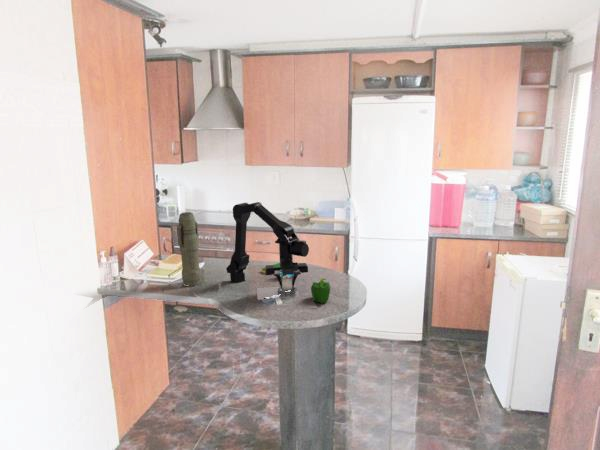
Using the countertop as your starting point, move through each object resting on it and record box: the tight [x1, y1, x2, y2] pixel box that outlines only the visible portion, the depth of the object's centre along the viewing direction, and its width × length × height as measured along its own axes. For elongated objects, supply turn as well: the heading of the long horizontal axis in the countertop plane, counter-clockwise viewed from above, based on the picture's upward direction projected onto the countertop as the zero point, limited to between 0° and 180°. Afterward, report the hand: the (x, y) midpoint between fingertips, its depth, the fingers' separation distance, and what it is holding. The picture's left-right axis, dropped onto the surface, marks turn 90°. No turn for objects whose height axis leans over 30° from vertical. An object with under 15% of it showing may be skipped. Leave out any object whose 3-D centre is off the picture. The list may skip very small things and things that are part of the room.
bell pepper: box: [310, 277, 331, 304], centre depth 181 cm, size 8×8×10 cm
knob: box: [281, 275, 292, 290], centre depth 190 cm, size 5×5×6 cm
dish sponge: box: [261, 262, 280, 274], centre depth 224 cm, size 7×14×2 cm, turn 136°
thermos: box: [176, 211, 202, 287], centre depth 204 cm, size 9×12×35 cm
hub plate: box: [256, 284, 300, 301], centre depth 190 cm, size 18×14×2 cm
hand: (287, 287), depth 190 cm, fingers closed on knob, 5 cm apart
